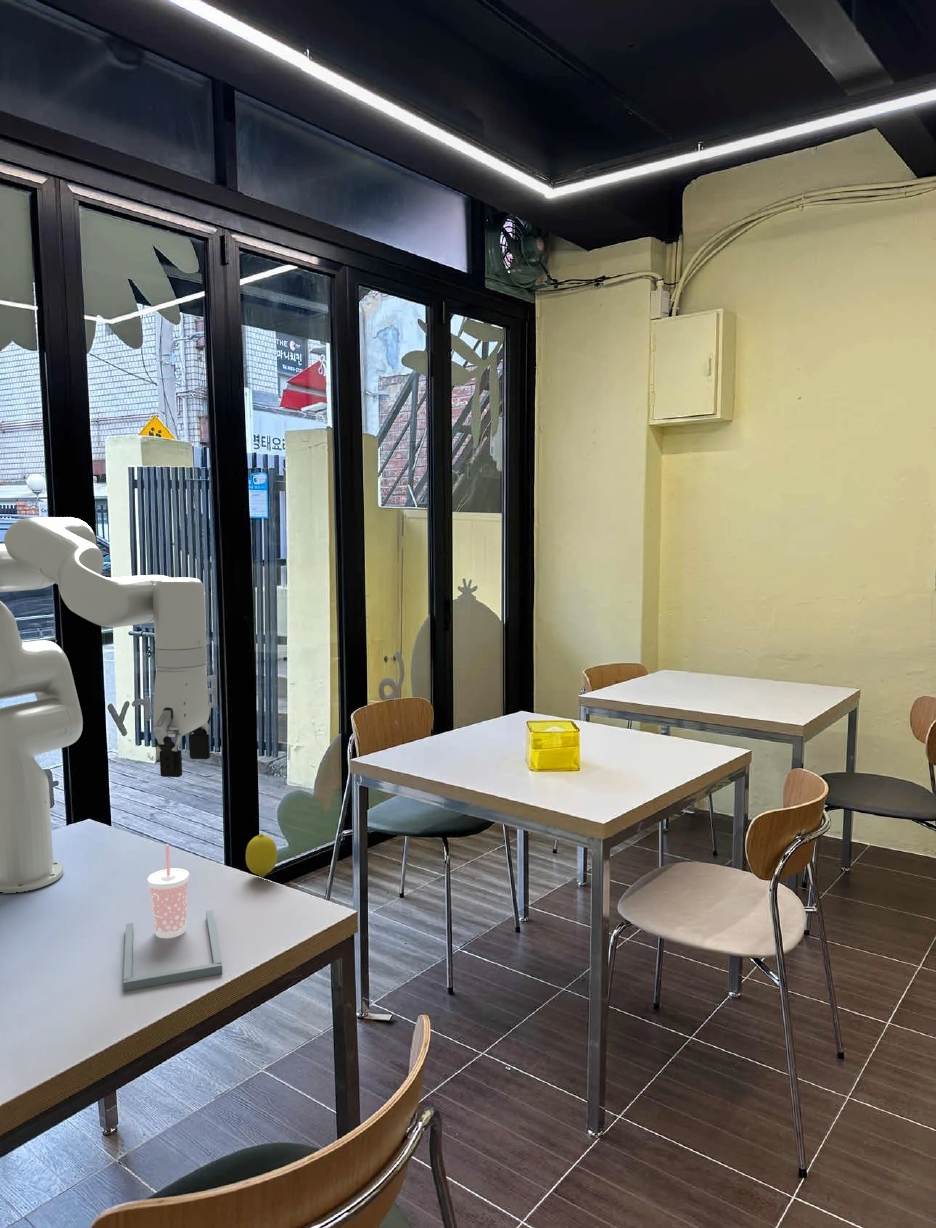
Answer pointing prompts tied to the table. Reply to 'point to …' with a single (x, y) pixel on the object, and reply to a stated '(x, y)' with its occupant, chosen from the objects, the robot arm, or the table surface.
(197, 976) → the slate channel
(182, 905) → the beverage cup
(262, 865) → the lemon
